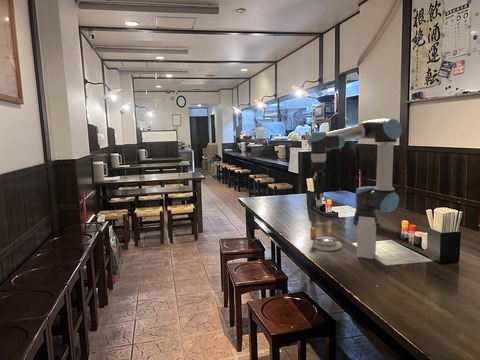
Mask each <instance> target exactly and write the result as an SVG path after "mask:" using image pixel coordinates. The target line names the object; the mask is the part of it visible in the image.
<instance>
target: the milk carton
mask: <svg viewBox="0 0 480 360" xmlns="http://www.w3.org/2000/svg"><path fill="white" fill-rule="evenodd" d="M356 225H357V226H356V229H357V230H356V257H357V258H364V259H370V260H373V259H374V257H375V256H376V253H377V251H376V249H377V225H376V222H375V218H371V217H361V216H359V221H358V224H356Z"/></svg>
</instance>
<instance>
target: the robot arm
mask: <svg viewBox="0 0 480 360" xmlns="http://www.w3.org/2000/svg"><path fill="white" fill-rule="evenodd" d="M402 131H403V130H402V125H401V123H400V122H399V121H398V120H397V119H395V118H389V117H388V118H375V119H368V120H366V121H362V122H359V123H355V124H354V125H353V126H349V127H345V128H341V129H337V130H331V131H328V132H326V131H313V132H311V134H310V135H309V136H308V138H307V145H308V146H309V147H310V153H311V154H310V157H311V158H310V159H311V165H310V166H311V167H310V168H311V170H314V172H313V175H312V176H311V177H312V183H313V184H312V185H313V193H314V194H315V206H317V207H318V206H319V207H322V206H323V194H324V192H325V191H324V189H325V177H326V173H325V172H324V170H325V169H326V168H327V162H326V161H327V150H338V149H341V148H343V147H344V146H345V143H346V142H349V141H352V140H355V139H356V140H363V139H371V140H372V139H374V143H375V144H376V146H377V154H376V183H375V186H360V187H357V188H356V191H355V212H354V216H353V218H352V223H353V224H354V225H358V221H359V216H361V217H371V218H375V222H376V226H377V225H378V224H379V218H378V215H377V211H378V210H379V211H381V212H387V213H391V212H393V211H394V210H396V208H398V206H399V202H400V197H399V194H397V192H395V191H396V190H395V187H393V174H394V173H393V169H394V167H393V166H394V145H395V144H396V143H397V140H398V139H399V138H400V137H401V135H402ZM376 210H377V211H376Z"/></svg>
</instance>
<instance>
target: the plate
mask: <svg viewBox="0 0 480 360" xmlns="http://www.w3.org/2000/svg"><path fill="white" fill-rule="evenodd" d="M311 247H312V248H313V249H315V250H318V251H323V252H334V251H339V250H341V249H342V247H343V243H342V242H340V241H338V240H337V245H335V246H330V247H326V246H321V245H318V244H317V240H312V244H311Z"/></svg>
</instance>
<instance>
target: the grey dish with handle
mask: <svg viewBox="0 0 480 360" xmlns="http://www.w3.org/2000/svg"><path fill="white" fill-rule="evenodd" d="M309 232H310V237H309V238H310V241H313V240H317V244H318V245H321V246H326V247H330V246H335V245H337V241H338V239H337V238H335V237H332V236H319V237H317V228H316V227H310V231H309Z"/></svg>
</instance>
